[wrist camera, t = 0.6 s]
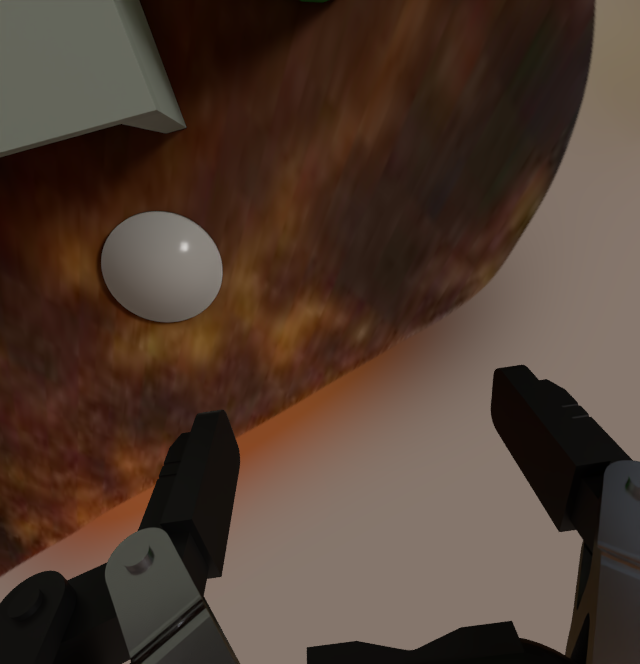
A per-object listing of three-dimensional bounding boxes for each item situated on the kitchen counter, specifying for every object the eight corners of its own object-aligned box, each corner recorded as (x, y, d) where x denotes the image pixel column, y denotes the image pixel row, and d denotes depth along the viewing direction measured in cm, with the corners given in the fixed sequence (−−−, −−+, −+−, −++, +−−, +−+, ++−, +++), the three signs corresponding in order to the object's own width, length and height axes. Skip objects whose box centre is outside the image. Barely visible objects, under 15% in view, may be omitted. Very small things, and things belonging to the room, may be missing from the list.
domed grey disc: (99, 310, 32) (98, 313, 31) (106, 197, 28) (104, 198, 28) (213, 326, 35) (213, 329, 34) (231, 225, 31) (231, 227, 31)
